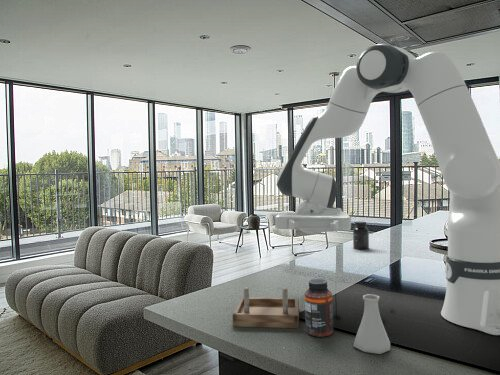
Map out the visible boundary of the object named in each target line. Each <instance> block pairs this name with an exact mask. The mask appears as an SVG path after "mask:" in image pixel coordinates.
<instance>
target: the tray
mask: <svg viewBox="0 0 500 375" xmlns="http://www.w3.org/2000/svg"><path fill="white" fill-rule="evenodd" d="M281 290H282V292H281V293H282V294H281V295H282V296H281V297H250V288H249V287H243V296H242V297H240V299H239V301H238V304H237V306H236V307H235V309H234V311H233V312H232V327H241V328H242V327H245V328H247V327H248V328H250V327H251V328H280V329H281V328H282V329H283V328H284V329H285V328H286V329H287V328H288V329H290V328H291V329H300V328H299V327H300V299H299V298H296V297H295V298H294V297H291V298H290V297H288V296H289V294H288V288H286V287H283V288H281Z"/></svg>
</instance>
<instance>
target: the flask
mask: <svg viewBox="0 0 500 375" xmlns="http://www.w3.org/2000/svg"><path fill="white" fill-rule="evenodd" d="M362 300H363V302H364V304H363V305H364V307H363V308H364V309H363V314H362V315H363V316H362V317H361V322H360V324H359V327H358V330H357V332H356V335H355V338H354V342H353V346H352V347H353V348H356V349H358V350H359V351H362V352H364V353H369V354H378V355H381V354H384V353H386V352H389V351H391V341H390V339H389V337H388V333H387V331H386V329H385V326H384V323H383V320H382V318H381V315H380V309H379V301H380V295H377V294H371V293H370V294H369V293H367V294H363V296H362Z"/></svg>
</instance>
